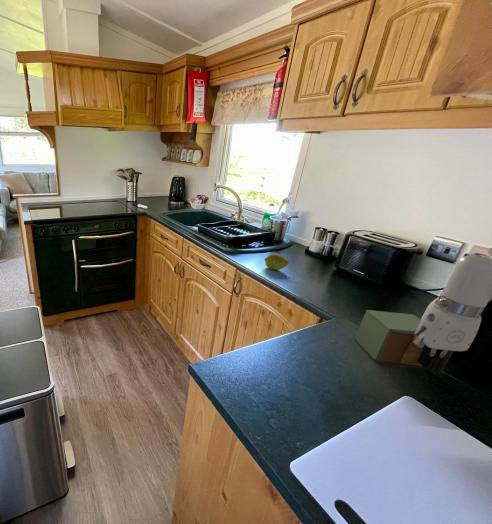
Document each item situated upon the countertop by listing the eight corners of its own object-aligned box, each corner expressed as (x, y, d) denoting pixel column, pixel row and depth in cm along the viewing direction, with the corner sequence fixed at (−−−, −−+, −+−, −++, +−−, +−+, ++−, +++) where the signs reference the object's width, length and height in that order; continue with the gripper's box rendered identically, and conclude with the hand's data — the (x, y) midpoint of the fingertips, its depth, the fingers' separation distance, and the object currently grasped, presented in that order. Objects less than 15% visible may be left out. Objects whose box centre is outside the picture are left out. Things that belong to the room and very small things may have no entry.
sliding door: (442, 380, 77) (460, 351, 74) (414, 377, 78) (431, 348, 74) (424, 365, 82) (440, 338, 79) (399, 362, 83) (413, 335, 79)
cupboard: (429, 369, 82) (447, 337, 78) (378, 364, 83) (394, 332, 79) (398, 343, 93) (413, 314, 89) (354, 338, 94) (366, 309, 89)
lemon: (260, 268, 145) (264, 253, 142) (265, 264, 151) (269, 249, 148) (282, 275, 139) (287, 259, 136) (287, 270, 144) (291, 255, 141)
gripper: (440, 311, 67) (406, 372, 74) (508, 317, 66) (467, 379, 73) (414, 295, 73) (386, 353, 80) (475, 301, 73) (441, 358, 80)
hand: (424, 365), depth 77 cm, fingers closed
